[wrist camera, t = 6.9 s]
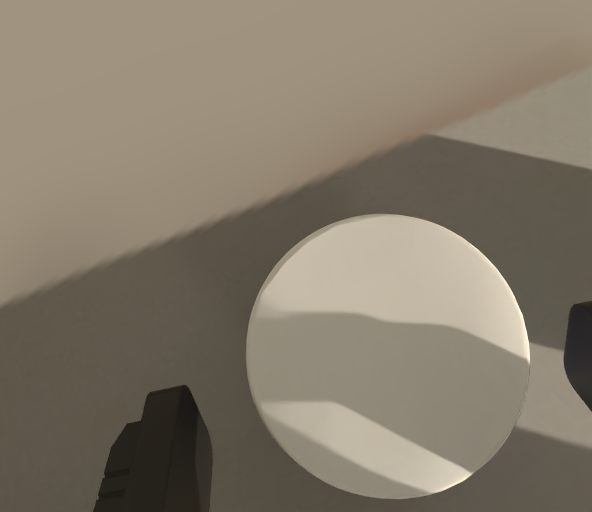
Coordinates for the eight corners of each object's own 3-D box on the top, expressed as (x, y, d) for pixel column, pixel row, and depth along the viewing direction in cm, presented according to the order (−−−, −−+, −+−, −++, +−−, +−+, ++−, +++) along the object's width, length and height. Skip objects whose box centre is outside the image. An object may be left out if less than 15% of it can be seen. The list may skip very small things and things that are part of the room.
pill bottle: (322, 255, 19) (313, 130, 9) (463, 325, 18) (625, 270, 8) (249, 392, 18) (150, 422, 8) (394, 474, 17) (482, 620, 7)
